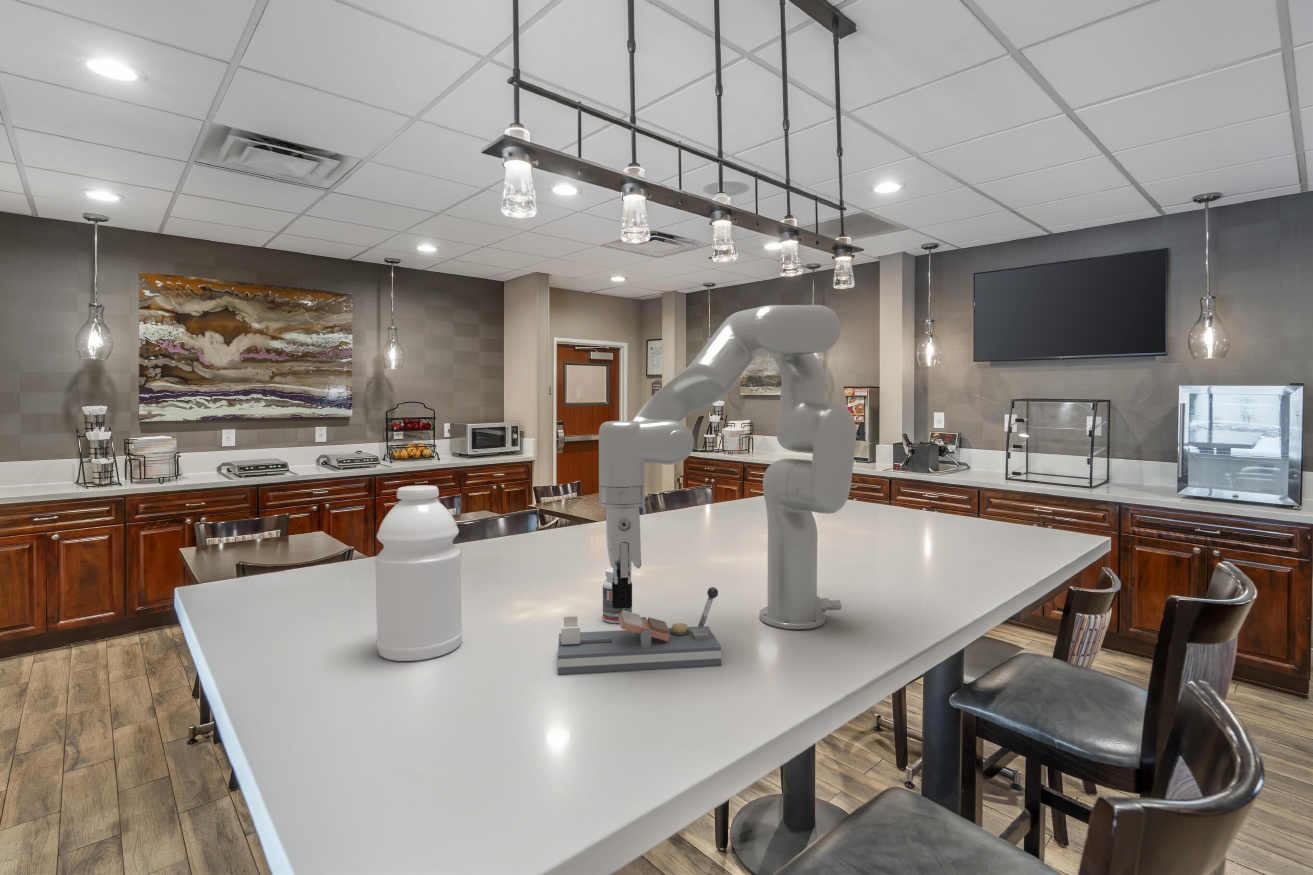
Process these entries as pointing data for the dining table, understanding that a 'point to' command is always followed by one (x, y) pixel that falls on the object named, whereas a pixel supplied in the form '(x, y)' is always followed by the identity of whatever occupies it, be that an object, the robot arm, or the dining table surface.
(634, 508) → the robot arm
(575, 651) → the console
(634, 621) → the rocker
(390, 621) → the bottle
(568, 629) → the slider
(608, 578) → the pill bottle
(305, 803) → the dining table surface
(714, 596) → the lever
